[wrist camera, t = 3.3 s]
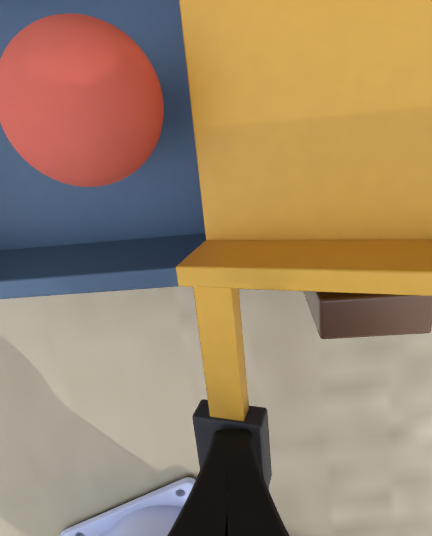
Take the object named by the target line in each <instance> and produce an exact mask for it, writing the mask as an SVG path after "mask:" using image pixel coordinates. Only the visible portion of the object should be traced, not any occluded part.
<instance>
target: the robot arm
mask: <svg viewBox="0 0 432 536" xmlns="http://www.w3.org/2000/svg"><path fill="white" fill-rule="evenodd" d="M179 489H181V490H179ZM60 536H289V534H288V532H287V530H286V528H285V526H284V524H283V522H282V520H281V518H280V516H279V513H278V511H277V509H276V507H275V505H274V502H273V500H272V498H271V495H270V493H269V490H268V488H267V485H266V483H265V480H264V478H263V475H262V472H261V469H260V466H259V463H258V460H257V456H256V452H255V448H254V444H253V437H252V433H251V432H250V431H249V430H248V429H231V430H216V431H215V432H214V433H213V436H212V439H211V443H210V446H209V449H208V452H207V454H206V457H205V460H204V462H203V465H202V467H201V469H200V472H199V474H198V476H197V478H196V480H195V479H193V478H191V477H186V478H183V479H181V480H178V481H176V482H174V483H171V484H169V485H167V486H164V487H162V488H160V489H158V490H155V491H153V492H151V493H148V494H146V495H144V496H141V497H139V498H137V499H134V500H132V501H130V502H128V503H125V504H123V505H121V506H118V507H116V508H114V509H111V510H109V511H107V512H104V513H102V514H100V515H97V516H95V517H93V518H91V519H88V520H86V521H84V522H81V523H79V524H77V525H74V526H72V527H70V528H67V529H65V530H63V531H62V532H61V534H60Z"/></svg>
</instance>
